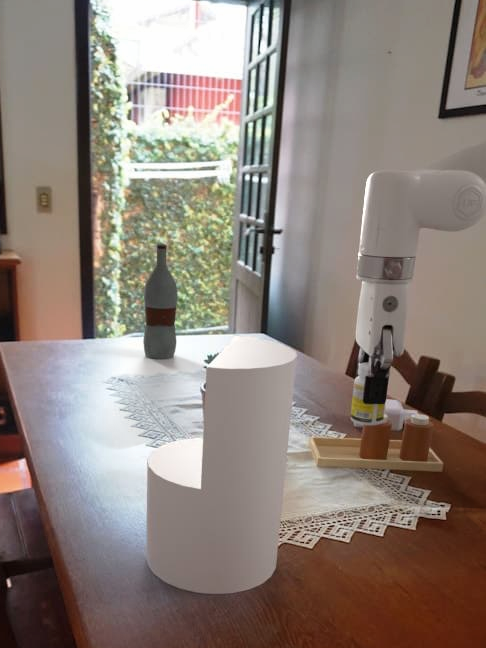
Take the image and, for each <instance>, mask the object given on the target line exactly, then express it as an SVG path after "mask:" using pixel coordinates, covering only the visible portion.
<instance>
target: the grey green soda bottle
mask: <svg viewBox="0 0 486 648" xmlns="http://www.w3.org/2000/svg"><path fill="white" fill-rule="evenodd" d="M167 247H168V245H167V244H165V243H158V244H156V265H155V267H154V268H153V270H152V272H151V274H150V275H149V276H148V278H147V279H146V281H145V285H144V292H143V302H144V303H143V304H144V317H145V327H144V333H143V349H144V350H143V351H144V355H145V358H146V357H147V358H149V359H154V360H169V359H173V358H174V357H175V354H176V348H177V332H176V325H175V324H176V317H177V316H176V314H177V305H178V295H179V294H178V286H177V282H176V280H175V278H174V277H173V275H172V273H171V271H170V269H169V268H168V266H167Z"/></svg>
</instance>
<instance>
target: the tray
mask: <svg viewBox="0 0 486 648" xmlns="http://www.w3.org/2000/svg"><path fill="white" fill-rule="evenodd" d="M401 443H402V439H390V441H389V447H388V453H387V459H386V460H371V459H362V458H360V457H359V451H360V444H361V438H354V437H353V438H352V437H350V438H349V437H329V436H309V437H308V446H309V449H310V452H311V454H312V457H313V459H314V462H315V464H316V467H317V468H318V467H320V468H345V469H365V470H367V469H369V470H391V471H413V472H414V471H416V472H443V468H444V462H443V461H442V460H441V459H440V457H439V456H438V455H437V454H436V453H435V452H434V450H433V449H432V447H430V449H429V454H428V459H427V462H419V461H403V460H401V459H400V457H399V455H400V449H401Z"/></svg>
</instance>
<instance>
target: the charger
mask: <svg viewBox="0 0 486 648" xmlns="http://www.w3.org/2000/svg"><path fill="white" fill-rule="evenodd" d="M384 414H386V415H387V419H388V420H390V421H391V422H392V428H391V431H394V432H400V431H401V430H403V428H404V426H403V425H404V424H405V421H406V420H407V419H411V418H412V415H413V414H419V412H418V410H415V409H404V407H403V405H402V402H401V401H399V400H397V399H391V398H390V399H388V398H386V403H385V410H384ZM425 415H426V414H425ZM426 416H428V415H426ZM353 425H354V428H360V429H363V425H361V424H357V423H355V422H353Z"/></svg>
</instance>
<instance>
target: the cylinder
mask: <svg viewBox="0 0 486 648" xmlns="http://www.w3.org/2000/svg"><path fill="white" fill-rule="evenodd" d="M297 357H298V356H297V351H295V350H294V349H293V348H291V347H290V346H287V345H285V344H282V343H279V342H276V341H273V340H269V339H265V338H259V337H253V336H245V335H236V334H235V336H234V337H233V338H232V339H231V340H230V341H229V343H228V344H227V345H226V346H225V347H224V348H223V349H222V350H221V351H220V352H219V353H218V354H217V355H216V356H215V358H214V359H212V360H211V362H210V363H209V364H208V365H207V366H206V370H205V389H204V390H205V391H204V408H203V409H204V410H203V411H204V412H203V413H204V414H203V433H202V437H193V438H182V439H178V440H174V441H171V442H167V443H164V444H162V445H160V446H157V447H156V448H155V449H154V450H152V451H151V452H150V453H149V455H148V457H147V460H146V523H145V525H146V526H145V527H146V530H145V531H146V533H145V534H146V535H145V536H146V537H145V558H146V564H147V567H148V568H149V569H150V571H151V572H152V574H153V575H155V576H156V577H157V578H158V579H159V580H161V581H163V582H164V583H165V584H168V585H171V586H173V587H175V588H177V589H181V590H184V591H188V592H192V593H196V594H208V595H224V594H225V595H226V594H235V593H240V592H244V591H248V590H251V589H253V588H256V587H258V586H261V585H263V584H264V583H265V582H266V581H268V580H269V579H270V578H271V577H272V576H273V574H274V572H275V570H276V569H277V562H278V551H279V541H280V540H279V539H280V531H281V530H280V529H281V520H282V509H283V502H284V501H283V500H284V499H283V498H284V490H285V479H286V471H287V461H288V460H287V459H288V451H289V450H288V448H289V441H290V439H289V438H290V429H291V419H292V408H293V398H294V390H295V389H294V388H295V380H296V379H295V377H296V370H297V369H296V367H297V359H298V358H297Z"/></svg>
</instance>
